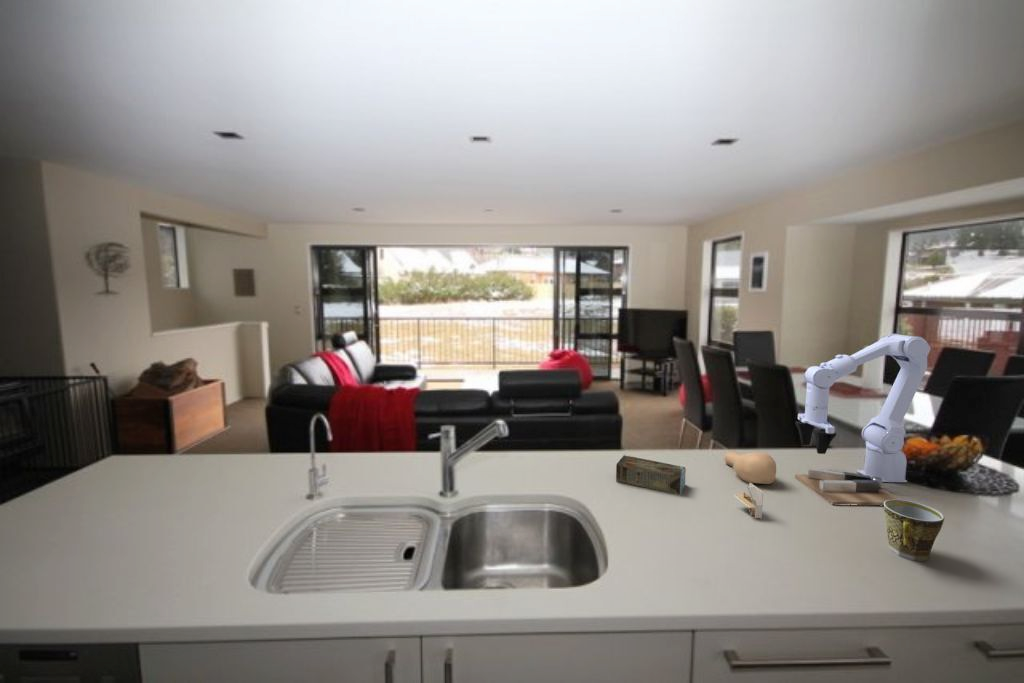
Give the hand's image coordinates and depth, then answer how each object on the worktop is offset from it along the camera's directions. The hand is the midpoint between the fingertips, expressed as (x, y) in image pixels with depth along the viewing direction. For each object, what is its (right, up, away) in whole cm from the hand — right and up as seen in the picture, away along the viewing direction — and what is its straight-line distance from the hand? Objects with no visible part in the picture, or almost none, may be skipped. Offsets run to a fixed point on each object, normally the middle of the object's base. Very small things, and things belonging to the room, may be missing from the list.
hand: (813, 448), depth 141 cm
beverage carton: (-52, -10, -4) cm, 53 cm away
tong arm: (+4, -8, -7) cm, 11 cm away
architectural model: (-31, -12, -22) cm, 40 cm away
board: (+3, -10, -10) cm, 14 cm away
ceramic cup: (-7, -14, -41) cm, 44 cm away
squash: (-20, -9, +2) cm, 22 cm away
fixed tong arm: (+2, -9, -12) cm, 15 cm away
